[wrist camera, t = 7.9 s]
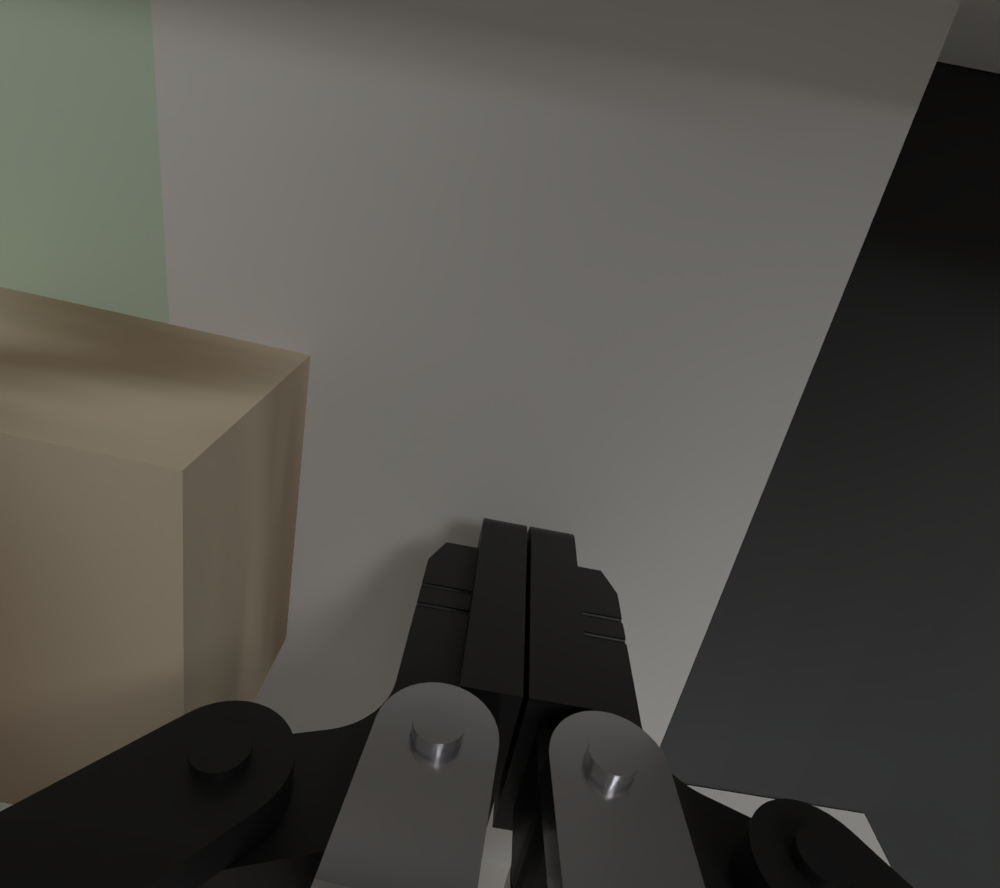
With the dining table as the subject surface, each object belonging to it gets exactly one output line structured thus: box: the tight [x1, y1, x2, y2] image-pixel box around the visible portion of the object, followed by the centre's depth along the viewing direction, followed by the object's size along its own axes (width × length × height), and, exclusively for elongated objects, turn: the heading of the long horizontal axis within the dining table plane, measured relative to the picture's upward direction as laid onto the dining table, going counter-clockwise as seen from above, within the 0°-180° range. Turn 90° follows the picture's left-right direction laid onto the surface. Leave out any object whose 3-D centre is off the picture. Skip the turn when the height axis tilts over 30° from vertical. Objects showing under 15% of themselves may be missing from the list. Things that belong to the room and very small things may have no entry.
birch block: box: [0, 287, 311, 804], centre depth 9 cm, size 7×6×4 cm
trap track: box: [0, 0, 1000, 888], centre depth 12 cm, size 32×20×5 cm, turn 80°
